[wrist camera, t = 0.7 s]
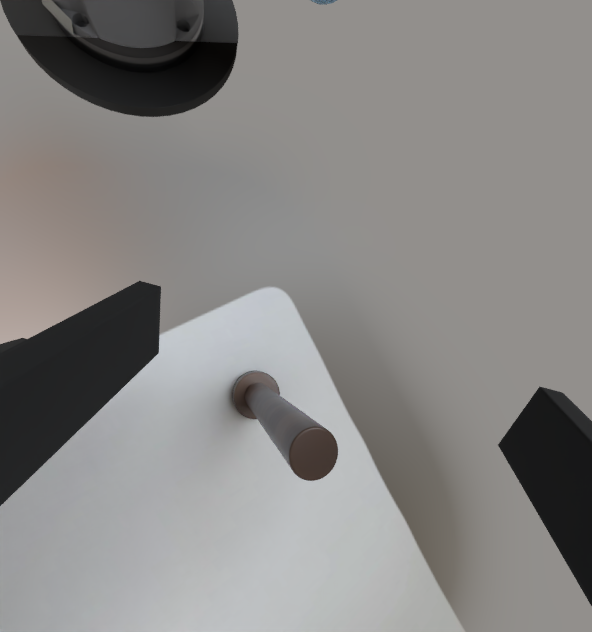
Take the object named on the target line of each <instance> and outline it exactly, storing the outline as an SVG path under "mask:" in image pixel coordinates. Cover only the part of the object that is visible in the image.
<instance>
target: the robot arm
mask: <svg viewBox="0 0 592 632" xmlns="http://www.w3.org/2000/svg"><path fill="white" fill-rule="evenodd" d="M311 1H313V2H315V3H317V4H331V3H333V2H335V1H337V0H311ZM42 4H43V5H44V6H45V7H46V8H47V9H48V10H49V11H50V12H51V14H52V16H53V18H54V20H55V21H56V23H57V24H58V26H59V27H60V28H61V30H62V31H63V32H64V33H65V35H66V36H67V37H68V38H69V39H70V40H71V41H72V42H73V43H74V44H76V45H77V46H78V47H79V48H80V49H82V50H83V51H84V52H86V53H87V54H89V55H90V56H92V57H94V58H95V59H97V60H99V61H101V62H103V63H105V64H108V65H110V66H113V67H116V68H119V69H123V70H127V71H133V72H144V73H147V72H159V71H164V70H168V69H171V68H173V67H176V66H178V65H180V64H181V63H183V62H184V61H186V60H187V59H188V58H189V57H190V56H191V55H192V54H193V53H194V52H195V50H196V49H197V47H198V45H199V43H200V41H201V38H202V34H203V29H204V2H203V0H42ZM160 294H161V287H160V286H157V285H153V284H149V283H145V282H141V281H139V282H137V283H135V284H133V285H131V286H129V287H127V288H125V289H123V290H121V291H119V292H117V293H116V294H114V295H112V296H110V297H108V298H106V299H104V300H102V301H100V302H98V303H97V304H94V305H92V306H91V307H89V308H87V309H85V310H83V311H81V312H79V313H77V314H75V315H73V316H71V317H69V318H68V319H66V320H64V321H62V322H60V323H58V324H56V325H54V326H52V327H50V328H48V329H46V330H44V331H42V332H41V333H39V334H37V335H35V336H33V337H31V338H29V339H24V338H21V339H18V340H14V341H10V342H7V343H3V344H0V506H1V505H2V504H3V503H4V502H5V501H6V500H7V499H8V498H9V497H10V496H11V495H12V494H13V493H14V492H15V491H16V490H17V489H18V488H19V487H21V486H22V485H23V484H24V483H25V482H26V481H27V480H28V479H29V478H30V477H31V476H32V475H33V474H34V473H35V472H36V471H37V470H38V469H39V468H40V467H41V466H42V465H43V464H44V463H45V462H46V461H47V460H48V459H49V458H51V457H52V456H53V455H54V454H55V453H56V452H57V451H58V450H59V449H60V448H61V447H62V446H63V445H64V444H65V443H66V442H67V441H68V440H69V439H70V438H71V437H72V436H73V435H74V434H75V433H76V432H77V431H78V430H79V429H80V428H82V427H83V426H84V425H85V424H86V423H87V422H88V421H89V420H90V419H91V418H92V417H93V416H94V415H95V414H96V413H97V412H98V411H99V410H100V409H101V408H102V407H103V406H104V405H105V404H106V403H107V402H108V401H109V400H110V399H112V398H113V397H114V396H115V395H116V394H117V393H118V392H119V391H120V390H121V389H122V388H123V387H124V386H125V385H126V384H127V383H128V382H129V381H130V380H131V379H132V378H133V377H134V376H135V375H136V374H137V373H138V372H139V371H140V370H142V369H143V368H144V367H145V366H146V365H147V364H148V363H149V362H150V361H151V360H152V359H153V358H154V357H155V356H156V355H157V354H158V353H159V323H160V296H161V295H160ZM498 445H499V447H500V449H501V451H502V452H503V454H504V456H505V457H506V459H507V461H508V463H509V464H510V466H511V468H512V470H513V471H514V473H515V475H516V477H517V478H518V480H519V482H520V483H521V485H522V487H523V489H524V490H525V492H526V494H527V495H528V497H529V499H530V501H531V502H532V504H533V506H534V507H535V509H536V511H537V513H538V515H539V516H540V518H541V520H542V521H543V523H544V525H545V527H546V528H547V530H548V532H549V533H550V535H551V537H552V539H553V540H554V542H555V544H556V546H557V547H558V549H559V551H560V552H561V554H562V556H563V558H564V559H565V561H566V563H567V564H568V566H569V568H570V570H571V571H572V573H573V575H574V577H575V578H576V580H577V582H578V584H579V585H580V587H581V589H582V590H583V592H584V594H585V596H586V597H587V599H588V601H589V602H590V604H591V606H592V421H591V420H590V419H589V418H588V417H587V416H586V415H585V414H584V413H583V412H582V411H581V410H580V409H579V408H578V407H577V406H576V405H574V404H573V402H572V401H570V400H569V399H568V398H567V397H566V396H565V395H564V394H563V393H561V392H557V391H554V390H550V389H546V388H542V387H539V388H538V390H537V391H536V393H535V394H534V395H533V397H532V398H531V400H530V401H529V403H528V404H527V405H526V407H525V408H524V409H523V411H522V412H521V414H520V415H519V417H518V418H517V419H516V421H515V422H514V423H513V425H512V426H511V428H510V429H509V431H508V432H507V433H506V435H505V436H504V437H503V439H502V440H501V442H500V443H499V444H498Z"/></svg>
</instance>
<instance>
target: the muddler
mask: <svg viewBox="0 0 592 632" xmlns="http://www.w3.org/2000/svg"><path fill="white" fill-rule="evenodd" d="M232 395H233V401H234V404H235V406H236V408H237V410H238V411H239V412H240V413H241V414H242V415H243V416H245V417H247V418H250V419H258V421H259V422H260V424H261V425H262V426H263V428H264V429H265V431H266V432H267V434H268V435H269V437H270V438H271V440H272V441H273V443H274V444H275V445H276V447H277V448H278V450H279V451H280V453H281V454H282V456H283V457H284V459H285V460H286V461H287V463H288V464H289V466H290V467H291V469H292V470H293V472H294V473H295V474H296V475H297V476H298V477H300V478H302V479H304V480H310V481H312V480H318V479H321V478H323V477H324V476H326V475H327V474H328V473H329V472H330V471H331V470H332V469H333V467H334V465H335V463H336V460H337V456H338V447H337V443H336V440H335V438H334V436H333V435H332V434H331V433H330V432H329V431H328V430H327V429H325V428H324V427H323V426H321V425H320V424H318V423H317V422H316V421H314V420H313V419H311V418H310V417H309V416H307V415H306V414H304V413H303V412H302V411H300V410H299V409H297V408H296V407H295V406H293V405H292V404H291V403H289V402H288V401H286V400H285V399H284V398H282V397H281V396H280V392H279V387H278V385H277V383H276V381H275V380H274V379H273V378H272V377H271V376H270V375H268V374H266V373H264V372H261V371H251V372H247V373H245V374H244V375H242V376H241V377H240V378H239V379H238V380H237V381H236V383H235V385H234V388H233V393H232Z"/></svg>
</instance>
